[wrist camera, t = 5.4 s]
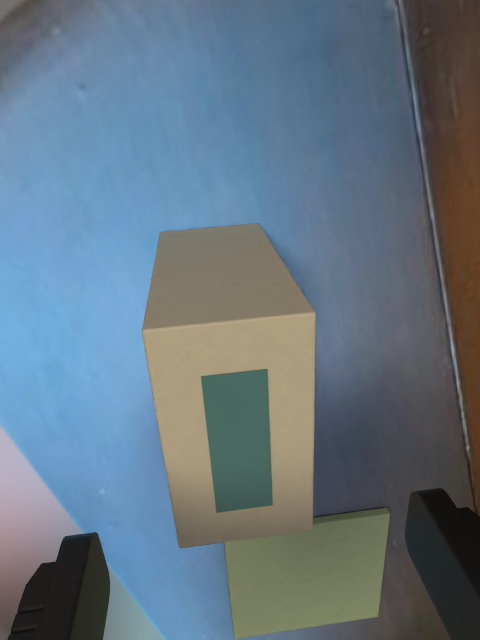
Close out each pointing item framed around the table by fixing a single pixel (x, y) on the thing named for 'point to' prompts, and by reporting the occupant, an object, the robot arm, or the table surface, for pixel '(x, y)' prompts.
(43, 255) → the table surface
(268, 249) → the tissue box
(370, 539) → the mat
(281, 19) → the table surface
